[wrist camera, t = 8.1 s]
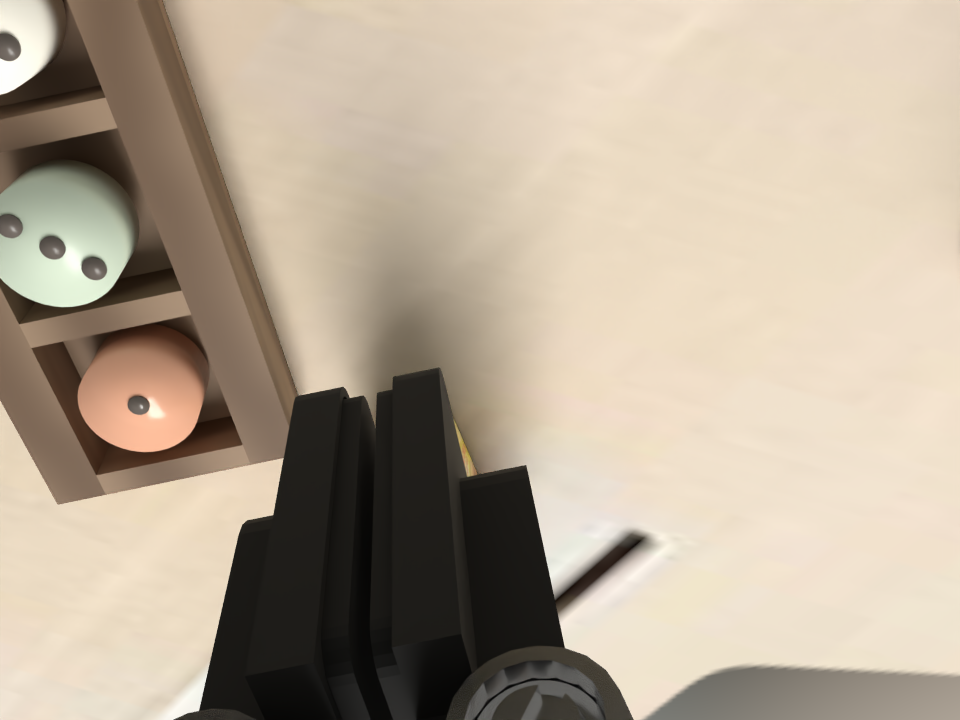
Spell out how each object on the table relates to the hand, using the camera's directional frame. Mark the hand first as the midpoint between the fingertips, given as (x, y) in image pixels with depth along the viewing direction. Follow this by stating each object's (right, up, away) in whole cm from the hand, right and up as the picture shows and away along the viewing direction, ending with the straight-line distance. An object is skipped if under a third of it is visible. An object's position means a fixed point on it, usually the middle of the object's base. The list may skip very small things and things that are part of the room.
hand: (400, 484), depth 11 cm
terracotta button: (-12, +1, +25) cm, 28 cm away
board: (-14, +7, +23) cm, 28 cm away
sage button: (-13, +6, +21) cm, 26 cm away
